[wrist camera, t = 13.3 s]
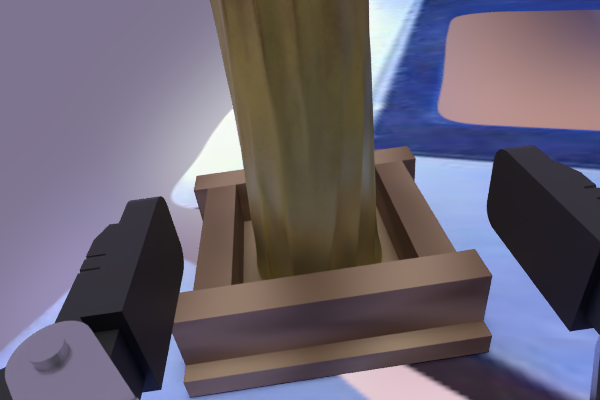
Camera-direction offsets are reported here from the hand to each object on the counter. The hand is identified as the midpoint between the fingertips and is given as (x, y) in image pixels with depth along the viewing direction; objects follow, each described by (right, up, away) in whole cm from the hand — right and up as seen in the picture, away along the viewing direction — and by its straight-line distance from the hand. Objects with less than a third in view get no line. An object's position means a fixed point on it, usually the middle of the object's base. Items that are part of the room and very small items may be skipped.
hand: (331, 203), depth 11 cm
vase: (0, -3, +11) cm, 11 cm away
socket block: (0, -3, +12) cm, 12 cm away
